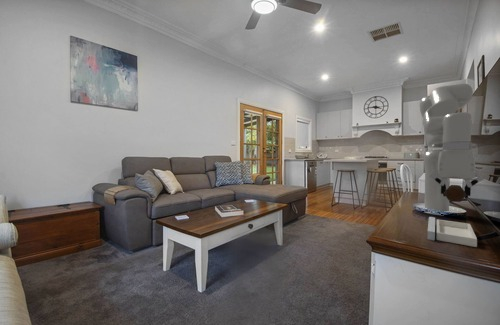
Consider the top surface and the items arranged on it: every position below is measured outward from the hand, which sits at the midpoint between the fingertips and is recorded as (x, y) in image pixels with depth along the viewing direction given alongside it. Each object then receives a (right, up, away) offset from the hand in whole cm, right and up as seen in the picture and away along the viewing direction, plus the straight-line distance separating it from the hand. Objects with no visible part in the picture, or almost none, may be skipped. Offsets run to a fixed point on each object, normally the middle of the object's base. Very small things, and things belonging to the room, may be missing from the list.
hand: (455, 196), depth 83 cm
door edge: (-5, -14, +5) cm, 16 cm away
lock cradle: (0, -14, +1) cm, 14 cm away
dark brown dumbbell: (0, -1, 0) cm, 1 cm away
